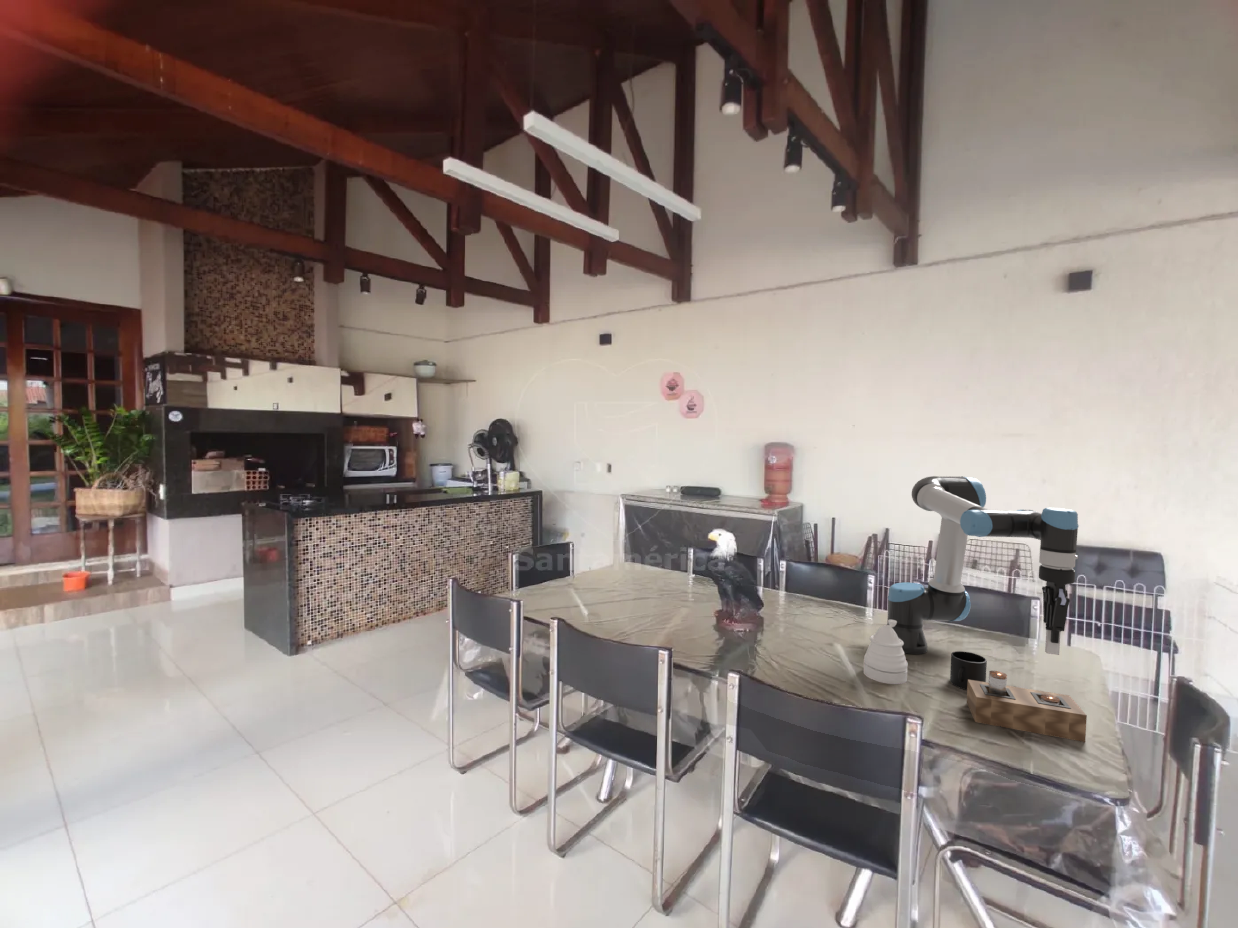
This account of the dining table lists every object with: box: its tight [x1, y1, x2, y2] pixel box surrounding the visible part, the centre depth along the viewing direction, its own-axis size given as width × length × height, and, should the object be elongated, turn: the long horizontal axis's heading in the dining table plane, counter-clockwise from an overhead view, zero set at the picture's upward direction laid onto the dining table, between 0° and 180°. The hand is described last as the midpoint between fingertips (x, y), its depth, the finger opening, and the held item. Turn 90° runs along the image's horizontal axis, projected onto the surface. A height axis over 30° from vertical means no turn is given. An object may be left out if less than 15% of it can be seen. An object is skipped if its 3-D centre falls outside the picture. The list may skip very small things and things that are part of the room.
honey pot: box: [863, 619, 909, 685], centre depth 179 cm, size 13×13×18 cm
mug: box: [949, 650, 988, 691], centre depth 172 cm, size 9×12×9 cm
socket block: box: [966, 680, 1088, 743], centre depth 150 cm, size 24×12×7 cm, turn 67°
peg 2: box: [1041, 694, 1060, 705], centre depth 148 cm, size 4×4×7 cm
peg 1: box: [988, 670, 1008, 696], centre depth 152 cm, size 4×4×7 cm
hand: (1052, 653), depth 147 cm, fingers closed
